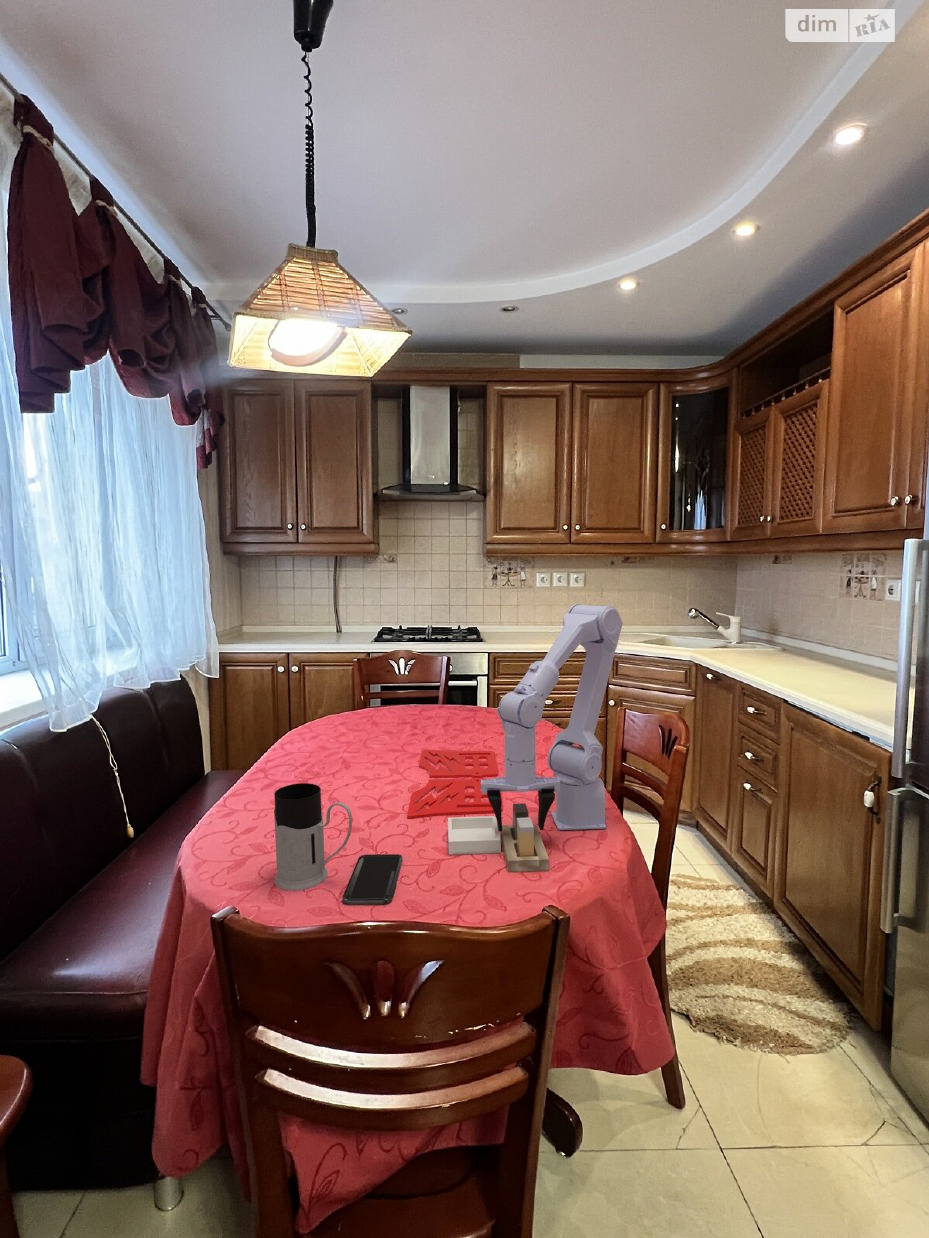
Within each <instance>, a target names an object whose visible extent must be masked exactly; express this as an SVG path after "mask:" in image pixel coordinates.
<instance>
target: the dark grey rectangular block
mask: <svg viewBox="0 0 929 1238" xmlns="http://www.w3.org/2000/svg"><path fill="white" fill-rule="evenodd" d="M528 810H529V809H528V807H527V803H512V825H513V838H512V839H513V840H517V818H529V811H528Z"/></svg>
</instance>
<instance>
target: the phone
mask: <svg viewBox="0 0 929 1238" xmlns="http://www.w3.org/2000/svg"><path fill="white" fill-rule="evenodd" d="M402 864H403V855H402V854H399V853H397V854H395V853H394V854H392V853H391V854H388V853H387V854H386V853H385V854H381V853H380V854H373V853H372V854H368V853H367V854H362V855H359V857H358V859H357V861H356V864H355V865H354V868H353V871H352V873H351V876H350V877H349V881H348V882H347V884H346V888H345V890H344V892H343V895H342V900H341V901H342V904H343V905H346V906H387V905H390V904H391V903H392V901H393V898H394V895H395V893H396V889H397V885H398V884H397V883H398V879H399V876H400V872H401V868H402Z"/></svg>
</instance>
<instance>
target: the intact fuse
mask: <svg viewBox="0 0 929 1238" xmlns="http://www.w3.org/2000/svg"><path fill="white" fill-rule="evenodd" d="M533 824H534V823H533V821H532V819H531V817H529V816H528V818H517V854H516V855H517V857H531V856H534V827H533Z"/></svg>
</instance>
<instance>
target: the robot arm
mask: <svg viewBox="0 0 929 1238" xmlns="http://www.w3.org/2000/svg"><path fill="white" fill-rule="evenodd" d="M623 624H624V623H623V620H622V618H621V615H620V612H619V611H618V609H617V608H616V607H615V606H613V605H604V606H603V605H589V604H587V605H586V604H580V603H575V604H573V605H571V606H570V607H569V608H568V610H567V612H566V613H565V614H564V616H563V619H562V626H563V627H562V628H561V630H560V631H559V634H558V635H557V637H556V639H555V640H554V642H553V643H552V645H551V646H550V648H549V650H548V652H547V653H546V655H545V657H544V658H543V660H536V661H534V662H533V663H531V664H530V666H529V667H528V670H527V672H526V673H525V675H524V676H523V677H522V679H521V680H520V681H519V683H518V684H517V686H516V687H515V688H514V690H513V691H509V692H507V693H506V694H504V695H503V696H502V697H501V699H500V701H499V703H498V707H497V708H496V712H497V715H498V718H499V719H500V720H501V725H502V726H501V728H502V729H503V731H504V733H503V734H504V737H503V738H504V739H503V740H504V742H503V743H504V747H503V748H504V750H503V751H504V753H503V754H504V776H501V777H496V778H495V777H493V778H486V779H487V780H481V789H480V790H481V793H482V794H484V793H487V796H488V798H487V800H488V802H490V804H491V806H492V808H493V811H494V813H493V814H494V816H496V821H497V827H498V831H499V832H500V831H502V825H503V820H502V819H503V818H502V812H501V808H502V803H503V798H502V799H501V795H502V792H503V793H504V792H505V793H506V792H518V793H527V792H536V791H537V796H538V812H537V827H538V830H539V831H544V829H545V824H546V819H547V816H548V813H549V811H550V808H551V806H552V805H553V803H554V801H555V811H551V813H550V814H551V817H552V818H553V822H554V823H555V826H556V827H557V830H558V831H565V830H566V831H569V830H571V831H572V830H574V831H575V830H596V829H597V830H598V829H599V830H600V829H601V830H602V829H606V828H607V825H606V793H605V792H606V791H605V784H604V782H603V780H602V778H600V777H599V775H600V774H601V772H602V768H603V767H602V765H603V763H602V754H603V749H604V748H603V746H602V744H601V743H600V741H599V740H598V739H597V736H595V733H596V729H597V725H598V722H599V716H600V714H601V709H602V705H603V702H604V696H605V693H606V690H607V686H608V682H609V677H610V673H611V671H612V670H611V668H612V665H613V661H614V658H615V653H616V650H617V647H618V643H619V640H620V636H621V632H622V627H623ZM579 646H580V647H582V648H583V649H584V651H585V653H586V656H585V660H584V663H583V667H582V671H581V674H580V675H581V676H580V679H579V682H578V683H579V684H578V687H577V690H576V694H575V699H574V701H573V705H572V711H571V713H570V718H569V721H568V724H567V727H566V728H565V729H563V730H562V731H559V732H558V733H557V734H556V735H555V739H554V741H553V744H552V746H551V747H550V749H549V750H548V754H547V758H546V759H547V766H548V768H549V769H550V770H551V771H552V772H553V777H549V776H548V777H547V776H537V775H536V770H537V769H536V759H537V758H536V753H537V751H536V741H537V740H536V725H537V724H539V722H540V721H541V720H542V717H543V713H544V707H545V706H546V700H547V699H548V697H549V696H550V694H551V692H552V691H553V690H554V688H555V687H556V686H557V683H558V682H559V681H560V673H559V672H560V671H559V670H560V669H561V668H562V667H563V666H564V664H565V663H566V661H567V660H569V658H570V657H571V655H572V654H573V653H574V652H575V651H576V650H577V649H578V647H579ZM576 745H580V746H581V747H579V746H576ZM500 792H501V793H500Z"/></svg>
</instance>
